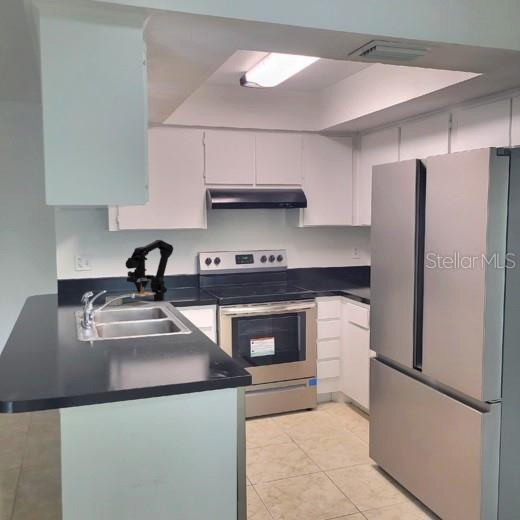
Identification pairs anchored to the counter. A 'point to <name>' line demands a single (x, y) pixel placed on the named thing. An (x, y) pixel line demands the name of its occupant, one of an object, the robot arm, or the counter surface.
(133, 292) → the lid
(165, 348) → the counter surface
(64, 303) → the counter surface
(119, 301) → the bowl
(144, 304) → the mat
